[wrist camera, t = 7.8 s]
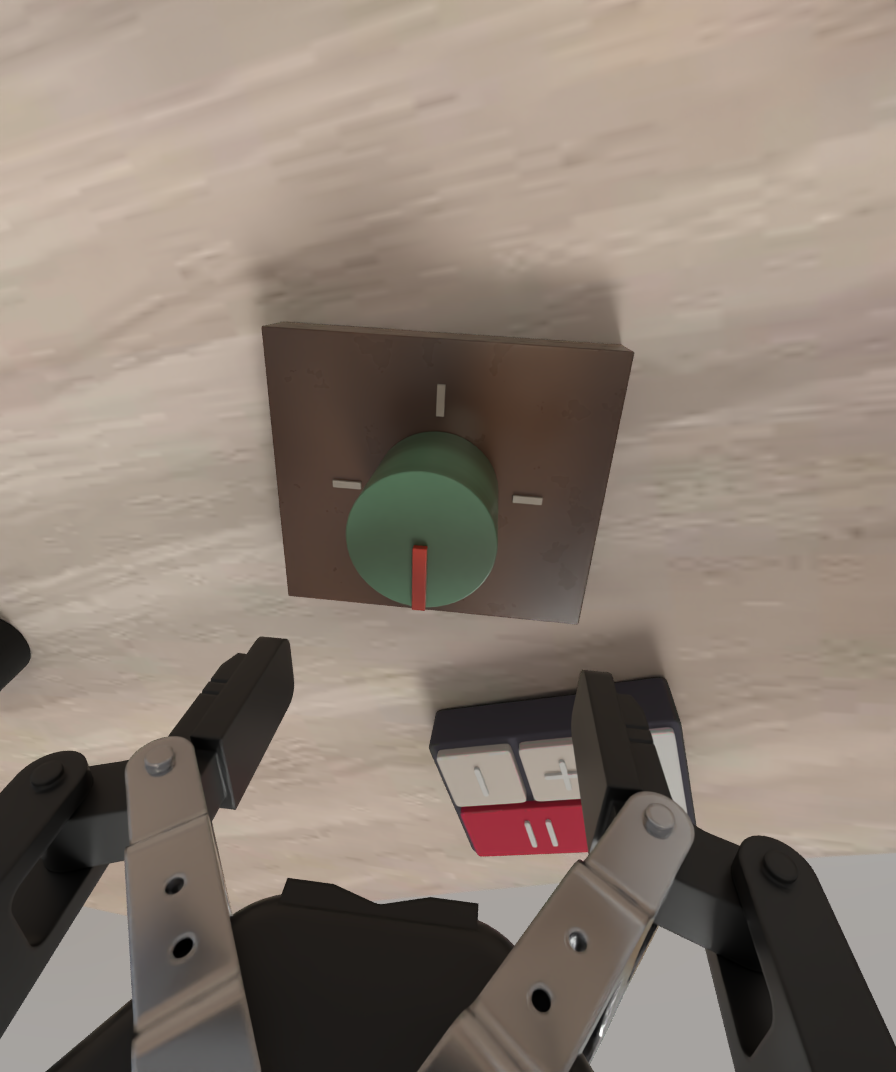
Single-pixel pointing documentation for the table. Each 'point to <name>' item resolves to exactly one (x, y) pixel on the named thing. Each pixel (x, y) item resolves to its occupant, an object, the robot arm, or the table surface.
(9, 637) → the drinking cup
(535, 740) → the calculator
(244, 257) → the table surface
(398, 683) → the table surface
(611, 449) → the base
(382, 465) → the knob
